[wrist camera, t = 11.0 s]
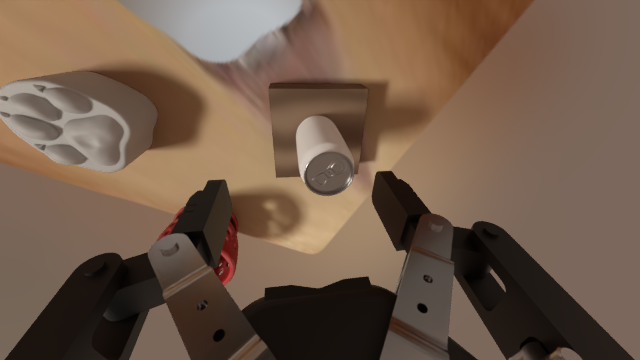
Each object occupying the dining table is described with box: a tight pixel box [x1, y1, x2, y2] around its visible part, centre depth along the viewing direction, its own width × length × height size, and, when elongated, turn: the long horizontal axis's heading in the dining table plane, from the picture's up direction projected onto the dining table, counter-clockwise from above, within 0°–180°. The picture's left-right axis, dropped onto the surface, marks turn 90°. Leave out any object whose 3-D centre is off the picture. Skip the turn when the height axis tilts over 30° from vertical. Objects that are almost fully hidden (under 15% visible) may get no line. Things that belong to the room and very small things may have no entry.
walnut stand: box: [269, 84, 369, 178], centre depth 37 cm, size 14×14×4 cm
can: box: [296, 116, 354, 196], centre depth 30 cm, size 6×6×12 cm
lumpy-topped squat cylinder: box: [0, 71, 158, 172], centre depth 30 cm, size 10×13×9 cm
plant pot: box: [157, 207, 238, 285], centre depth 41 cm, size 13×13×12 cm
